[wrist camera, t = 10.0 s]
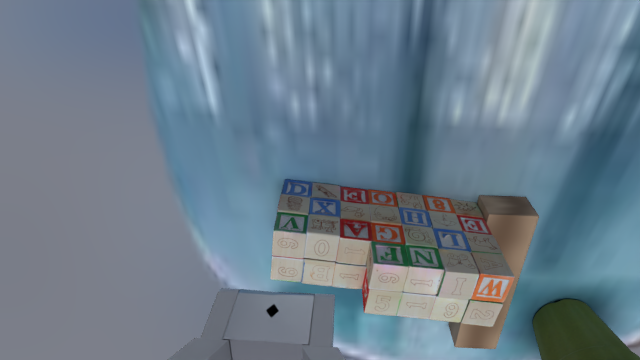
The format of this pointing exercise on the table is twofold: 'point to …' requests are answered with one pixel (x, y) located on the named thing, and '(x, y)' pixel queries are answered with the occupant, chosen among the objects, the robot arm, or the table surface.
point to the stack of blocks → (392, 251)
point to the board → (514, 240)
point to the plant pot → (576, 334)
